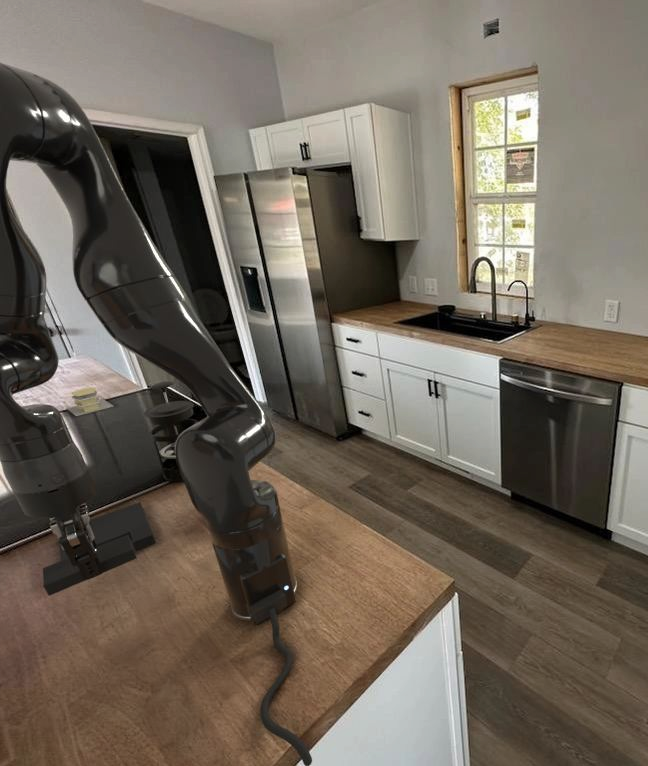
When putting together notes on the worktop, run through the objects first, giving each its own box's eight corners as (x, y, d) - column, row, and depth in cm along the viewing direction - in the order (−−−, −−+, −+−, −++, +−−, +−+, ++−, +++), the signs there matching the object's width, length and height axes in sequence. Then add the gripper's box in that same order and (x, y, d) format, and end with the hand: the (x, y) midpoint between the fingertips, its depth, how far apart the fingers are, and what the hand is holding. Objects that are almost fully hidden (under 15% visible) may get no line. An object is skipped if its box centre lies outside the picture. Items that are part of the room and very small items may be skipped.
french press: (157, 471, 100) (128, 383, 91) (202, 455, 107) (179, 372, 98) (173, 490, 93) (143, 397, 85) (220, 472, 100) (196, 384, 92)
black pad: (132, 543, 71) (128, 534, 70) (137, 558, 68) (133, 549, 67) (47, 577, 64) (42, 567, 63) (48, 596, 61) (43, 586, 60)
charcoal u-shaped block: (156, 542, 78) (152, 534, 77) (66, 579, 70) (61, 570, 69) (143, 509, 87) (140, 501, 86) (62, 538, 79) (58, 530, 78)
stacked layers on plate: (114, 406, 133) (108, 390, 131) (76, 416, 126) (69, 399, 124) (103, 399, 138) (97, 384, 136) (66, 408, 131) (59, 392, 129)
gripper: (12, 467, 61) (57, 556, 67) (9, 510, 52) (61, 608, 58) (82, 448, 66) (118, 532, 73) (90, 484, 57) (130, 577, 64)
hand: (92, 565), depth 65 cm, fingers closed on black pad, 5 cm apart
